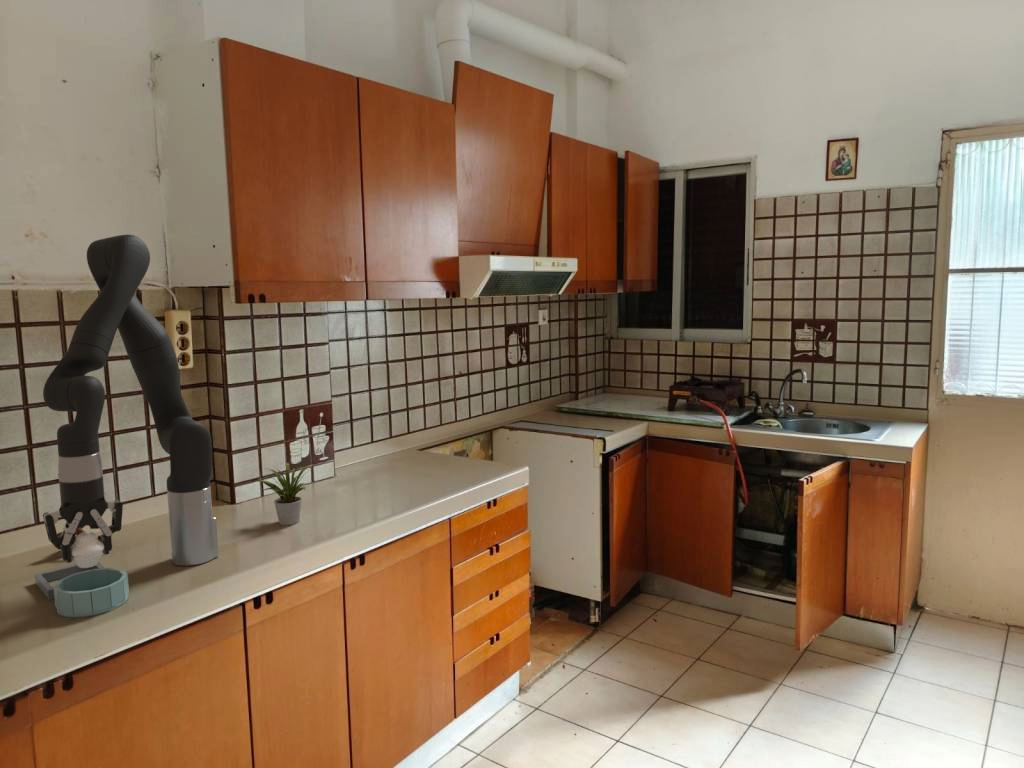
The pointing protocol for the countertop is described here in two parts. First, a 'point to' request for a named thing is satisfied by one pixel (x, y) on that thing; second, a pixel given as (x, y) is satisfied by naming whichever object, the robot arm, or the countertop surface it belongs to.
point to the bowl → (91, 592)
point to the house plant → (287, 496)
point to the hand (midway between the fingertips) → (87, 557)
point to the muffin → (86, 550)
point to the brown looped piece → (77, 532)
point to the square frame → (58, 577)
